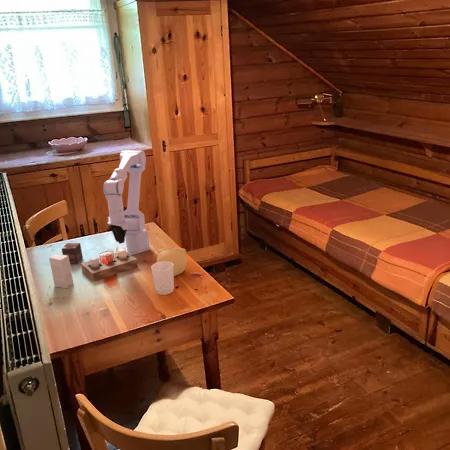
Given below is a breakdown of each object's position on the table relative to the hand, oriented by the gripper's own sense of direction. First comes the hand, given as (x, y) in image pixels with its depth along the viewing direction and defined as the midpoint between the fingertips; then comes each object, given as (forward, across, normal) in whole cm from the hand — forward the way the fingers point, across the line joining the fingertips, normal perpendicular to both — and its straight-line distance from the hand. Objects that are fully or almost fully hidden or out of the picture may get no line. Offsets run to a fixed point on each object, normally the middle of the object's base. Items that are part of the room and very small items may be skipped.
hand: (120, 241), depth 200 cm
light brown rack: (+10, 0, -6) cm, 12 cm away
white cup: (+11, +31, +2) cm, 33 cm away
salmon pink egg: (+8, 0, -6) cm, 10 cm away
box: (+11, -18, -14) cm, 25 cm away
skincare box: (+11, +1, -25) cm, 27 cm away
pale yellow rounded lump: (+11, +20, +12) cm, 25 cm away
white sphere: (+8, 0, -12) cm, 14 cm away
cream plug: (+8, 0, 0) cm, 8 cm away
